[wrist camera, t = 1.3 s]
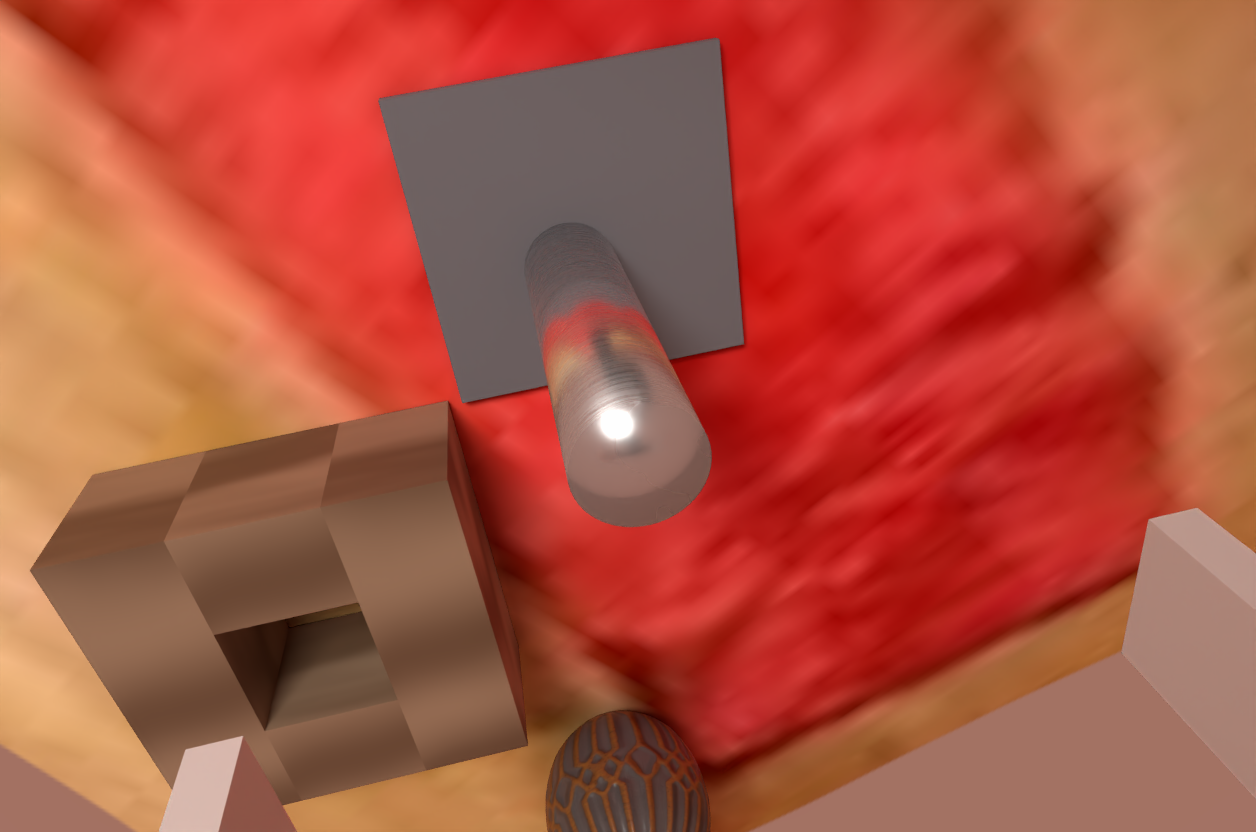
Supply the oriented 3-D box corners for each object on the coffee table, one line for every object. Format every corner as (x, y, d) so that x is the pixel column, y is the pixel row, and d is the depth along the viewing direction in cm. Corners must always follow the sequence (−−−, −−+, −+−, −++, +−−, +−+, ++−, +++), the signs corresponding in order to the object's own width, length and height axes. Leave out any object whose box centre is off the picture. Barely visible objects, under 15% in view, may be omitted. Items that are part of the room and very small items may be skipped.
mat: (379, 98, 25) (378, 100, 25) (716, 37, 26) (719, 39, 25) (462, 397, 30) (462, 403, 30) (740, 339, 31) (744, 343, 30)
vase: (597, 666, 37) (633, 852, 30) (716, 715, 40) (777, 897, 33) (509, 766, 39) (522, 963, 32) (628, 806, 42) (666, 996, 35)
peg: (515, 232, 27) (554, 420, 17) (608, 214, 27) (704, 388, 17) (534, 319, 29) (580, 540, 18) (622, 301, 29) (718, 509, 19)
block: (92, 475, 29) (29, 570, 25) (447, 400, 30) (446, 480, 26) (227, 716, 35) (196, 826, 31) (518, 648, 36) (527, 745, 32)
